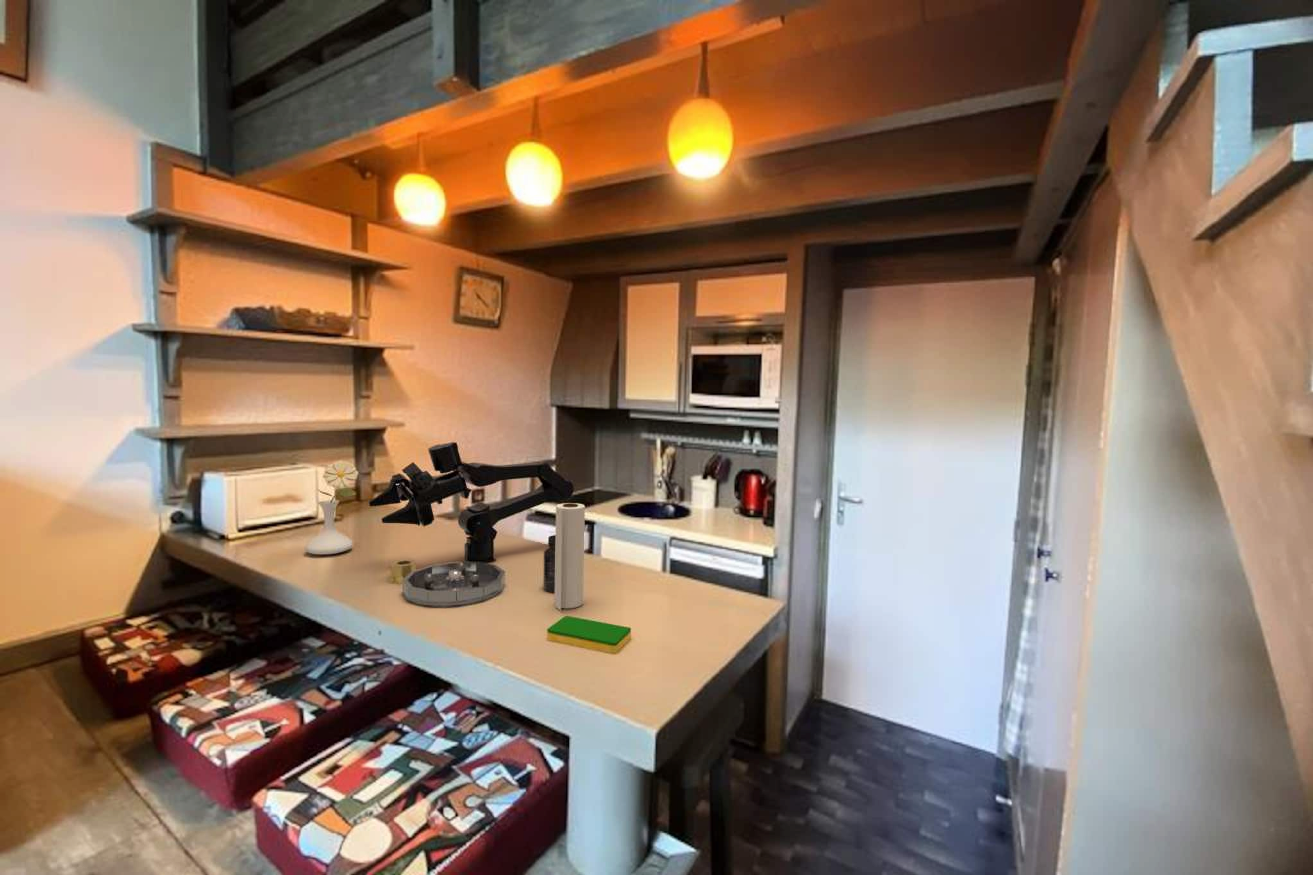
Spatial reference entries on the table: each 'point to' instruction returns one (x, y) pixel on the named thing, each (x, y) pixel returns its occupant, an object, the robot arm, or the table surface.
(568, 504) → the paper towel roll
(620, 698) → the table surface
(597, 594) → the table surface
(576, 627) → the dish sponge
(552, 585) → the supplement bottle
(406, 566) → the planet gear
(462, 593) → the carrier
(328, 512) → the flower in vase
